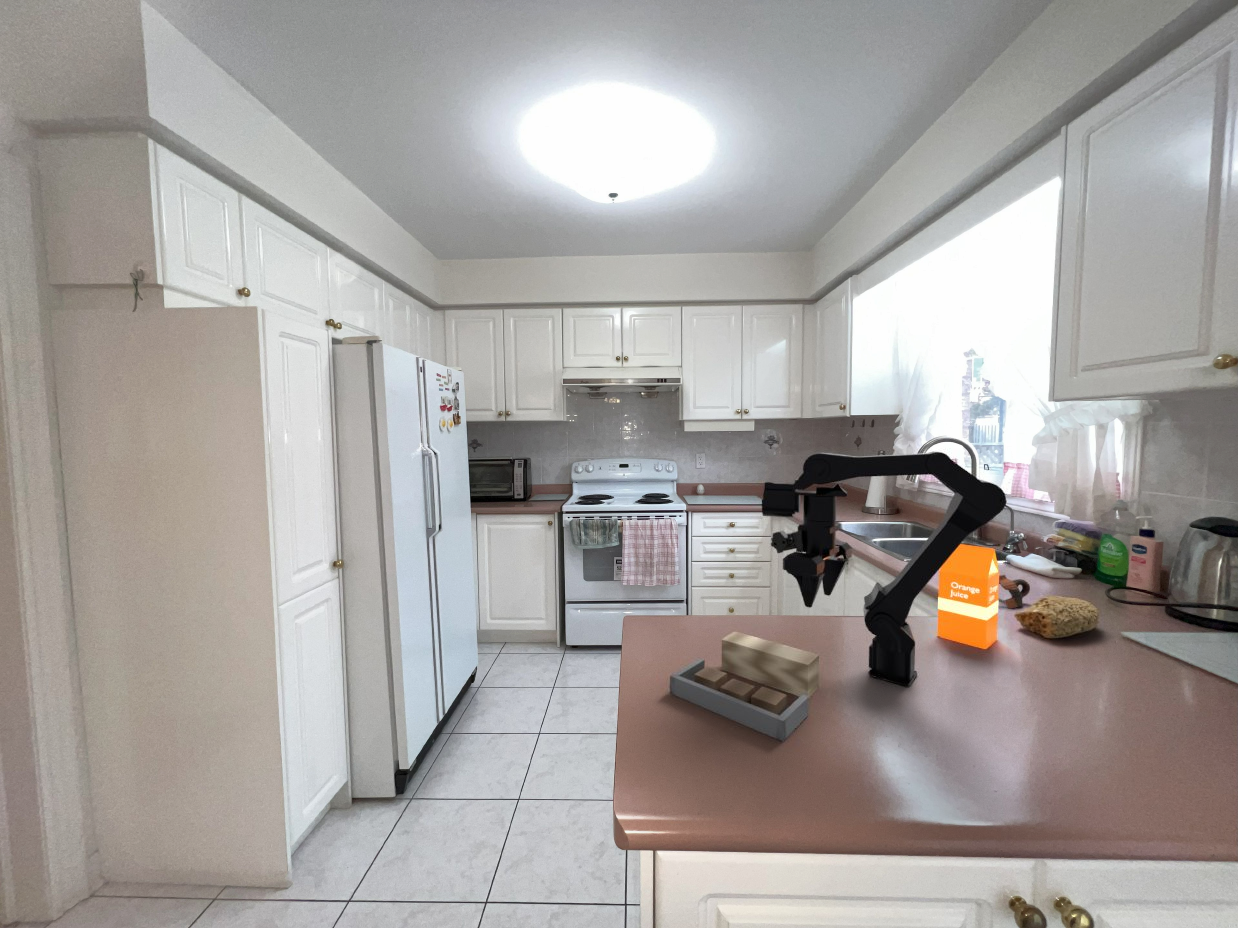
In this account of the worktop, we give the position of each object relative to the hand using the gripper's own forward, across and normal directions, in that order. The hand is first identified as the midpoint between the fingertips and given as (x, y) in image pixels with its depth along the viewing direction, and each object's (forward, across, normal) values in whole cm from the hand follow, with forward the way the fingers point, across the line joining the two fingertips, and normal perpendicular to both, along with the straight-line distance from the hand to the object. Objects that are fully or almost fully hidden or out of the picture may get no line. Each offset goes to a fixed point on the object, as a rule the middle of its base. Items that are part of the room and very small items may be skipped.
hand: (818, 600), depth 94 cm
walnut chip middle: (+12, +23, -4) cm, 27 cm away
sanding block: (+12, +12, -4) cm, 18 cm away
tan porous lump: (+12, -53, +33) cm, 64 cm away
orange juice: (+12, -33, +19) cm, 40 cm away
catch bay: (+12, +24, -4) cm, 27 cm away
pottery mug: (+12, -67, +22) cm, 71 cm away
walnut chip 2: (+12, +22, +1) cm, 26 cm away
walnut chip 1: (+12, +22, -10) cm, 27 cm away
